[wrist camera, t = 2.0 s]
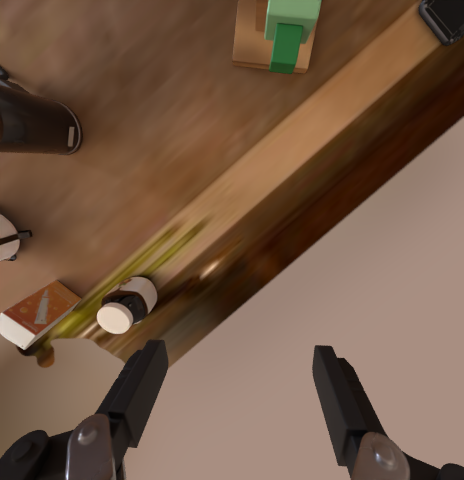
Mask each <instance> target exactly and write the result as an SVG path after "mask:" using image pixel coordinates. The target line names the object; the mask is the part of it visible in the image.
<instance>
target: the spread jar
mask: <svg viewBox="0 0 464 480" xmlns="http://www.w3.org/2000/svg"><path fill="white" fill-rule="evenodd" d="M156 301H157V291H156V288H155V286H154V284H153V283H152V281H151V280H150V279H148V278H146V277H143V276H134V277H131V278H128V279H126V280H123V281H122V282H120V283H118V284H117V285H116V286H115V287H113V288H112V289H111V290H110V291H109V292H108V293H107V294H106V295H105V296H104V297H103V299H102V308H101V309H100V310H99V311H98V313H97V320H98V323H99V324H100V326H101V327H102V328H103V329H105V330H106V331H108V332H110V333H114V334H121V333H124V332H126V331H127V330H128V329H129V327H130V326H131V325H133V324H137V323H139V322H140V321H141V320H142V319H144V318H145V317H146V316H147V315H148V314H149V312H150V311H151V310H152V308H153V307H154V305H155V303H156Z"/></svg>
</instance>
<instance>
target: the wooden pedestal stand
mask: <svg viewBox="0 0 464 480" xmlns="http://www.w3.org/2000/svg"><path fill="white" fill-rule="evenodd" d="M268 1H269V0H238V9H237V19H236V29H235V39H234V49H233V65H234V66H242V67H250V68H259V69H268V70H269V67H270V61H271V54H272V47H273V41H271V40H265V38H264V36H265V26H266V16H267V8H268ZM318 16H319V15H318ZM317 21H318V19H317ZM317 21H316V23H315V25H314V27H313V30H312V32H311V34H310V36H309V38H308V40H307V42H306V44H300V48H299V53H298V58H297V64H296V66H295V68H294V70H293V72H295V73H304V74H305V72H306V71H307V69H308V65H309V60H310V55H311V51H312V46H313V41H314V36H315V31H316V26H317Z"/></svg>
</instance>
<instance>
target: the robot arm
mask: <svg viewBox="0 0 464 480" xmlns="http://www.w3.org/2000/svg"><path fill="white" fill-rule="evenodd" d="M0 74H1V75H0V152H11V153H43V154H60V155H69V154H72V153H74V152H75V151H77V150H78V148H79V147H80V145H81V142H82V129H81V125H80V122H79V120H78V118H77V117H76V115H75V114H74V112H73V111H72V110H71V109H70V108H69V107H67V106H66V105H64V104H63V103H60V102H58V101H54V100H49V99H45V98H42V97H39V96H36V95H32V94H30V93H29V92H27V91H26V90H25V89H23V88H22V87H20V86H19V85H18V84H15V83H12V82H9V81H6V80H8V78H9V77H8V75H7V73H6V71H5V70H4V69H3V68H2V67H1V66H0ZM312 368H313V369H312V370H313V378H314V382H315V386H316V389H317V393H318V396H319V399H320V403H321V406H322V410H323V413H324V417H325V421H326V424H327V428H328V431H329V435H330V438H331V442H332V445H333V449H334V452H335V456H336V459H337V463H338V465H339V466H347V468H348V472H349V475H350V478H351V480H464V467H462V466H459V465H457V464H451V463H448V464H445V465H443V467H442V468H441V469H438V468H436V467H434V466H431V465H429V464H427V463H424V462H422V461H420V460H417V459H415V458H413V457H411V456H409V455H407V454H406V453H404V452H403V451H401V449H400V448H399V447H398V446H397V445H396V444H395V443H394V442H393V441H392V440H390V439H389V437H388V436H387V434H386V433H385V431H384V429H383V427H382V425H381V424H380V421H379V419H378V417H377V415H376V413H375V411H374V409H373V407H372V405H371V403H370V401H369V399H368V397H367V395H366V393H365V391H364V389H363V387H362V385H361V383H360V382H359V379H358V377H357V374H356V372H355V370H354V368H353V367H352V366H351V365H350V364H349V363H348V362H347V361H346V360H345V358H337V357H336V354H335V352H334V350H333V348H332V346H321V345H320V346H319V345H316V346H315V350H314V358H313V367H312ZM167 369H168V357H167V352H166V347H165V342H164V340H148V342H147V343H146V345H145V347H144V348H143V350H137V351H136V352H135V353H134V354H133V355H132V356H131V357H130V358H129V359H128V361H127V363H126V364H125V366H124V368H123V370H122V371H121V372H120V374H119V376H118V378H117V379H116V380H115V382H114V384H113V385H112V387H111V389H110V390H109V392H108V394H107V395H106V397H105V399H104V400H103V402H102V403H101V405H100V406H99V408H98V410H97V411H96V413H95V414H94V415H91V416H89V417H88V418H86V419H85V420H83V421H82V422H81V423H80V424H79V425H78V426H77V427H76V428H75V429H74V430H71V431H68V432H65V433H61V434H58V435H55V436H51V437H48V435H47V433H46V432H45V431H43V430H36V431H32V432H30V433H28V434H26V435H24V436H23V437H21V438H20V439H18V440H17V441H16V442H15V443H14V444H13V445H12V446H11V447H10V448H9V449H8V450H7V451H6V452H5V453H4V455H3V456H2V457H1V459H0V480H126V473H125V465H124V455H125V453H126V451H127V448H128V447H132V448H137V446H138V443H139V441H140V438H141V436H142V433H143V431H144V428H145V426H146V423H147V421H148V418H149V416H150V413H151V410H152V408H153V405H154V403H155V400H156V398H157V396H158V393H159V391H160V388H161V386H162V383H163V381H164V378H165V376H166V373H167Z"/></svg>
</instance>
